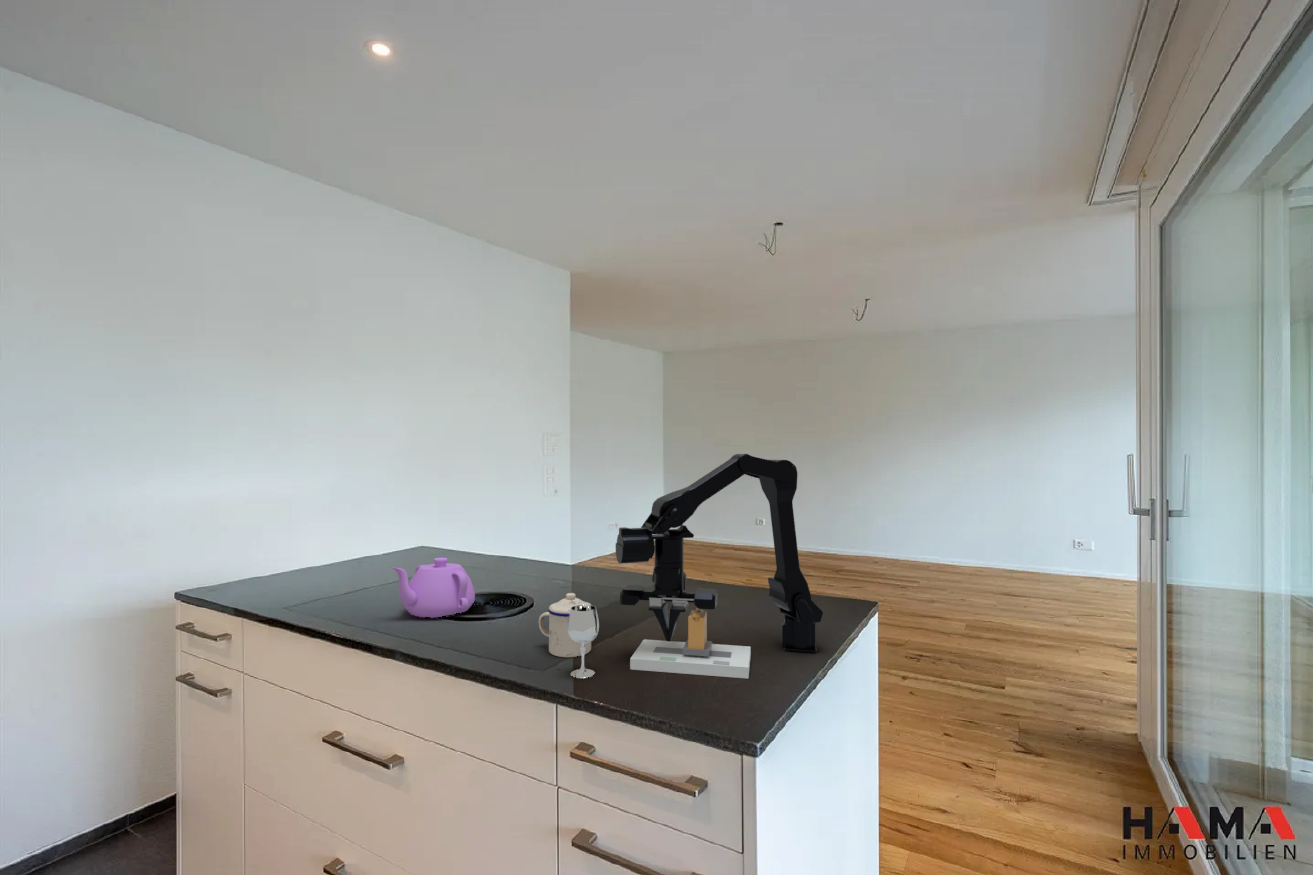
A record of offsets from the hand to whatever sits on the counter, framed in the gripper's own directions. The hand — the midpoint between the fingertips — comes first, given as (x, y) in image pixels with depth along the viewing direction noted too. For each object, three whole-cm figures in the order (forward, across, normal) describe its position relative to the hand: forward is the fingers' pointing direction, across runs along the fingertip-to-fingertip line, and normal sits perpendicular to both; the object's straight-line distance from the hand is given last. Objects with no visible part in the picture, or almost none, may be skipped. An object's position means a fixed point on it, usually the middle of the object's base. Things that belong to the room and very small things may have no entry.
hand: (668, 640), depth 115 cm
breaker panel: (+4, -5, 0) cm, 6 cm away
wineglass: (+4, +14, +10) cm, 18 cm away
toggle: (+1, -6, 0) cm, 6 cm away
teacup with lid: (+4, +22, -2) cm, 23 cm away
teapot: (+4, +64, -21) cm, 68 cm away
